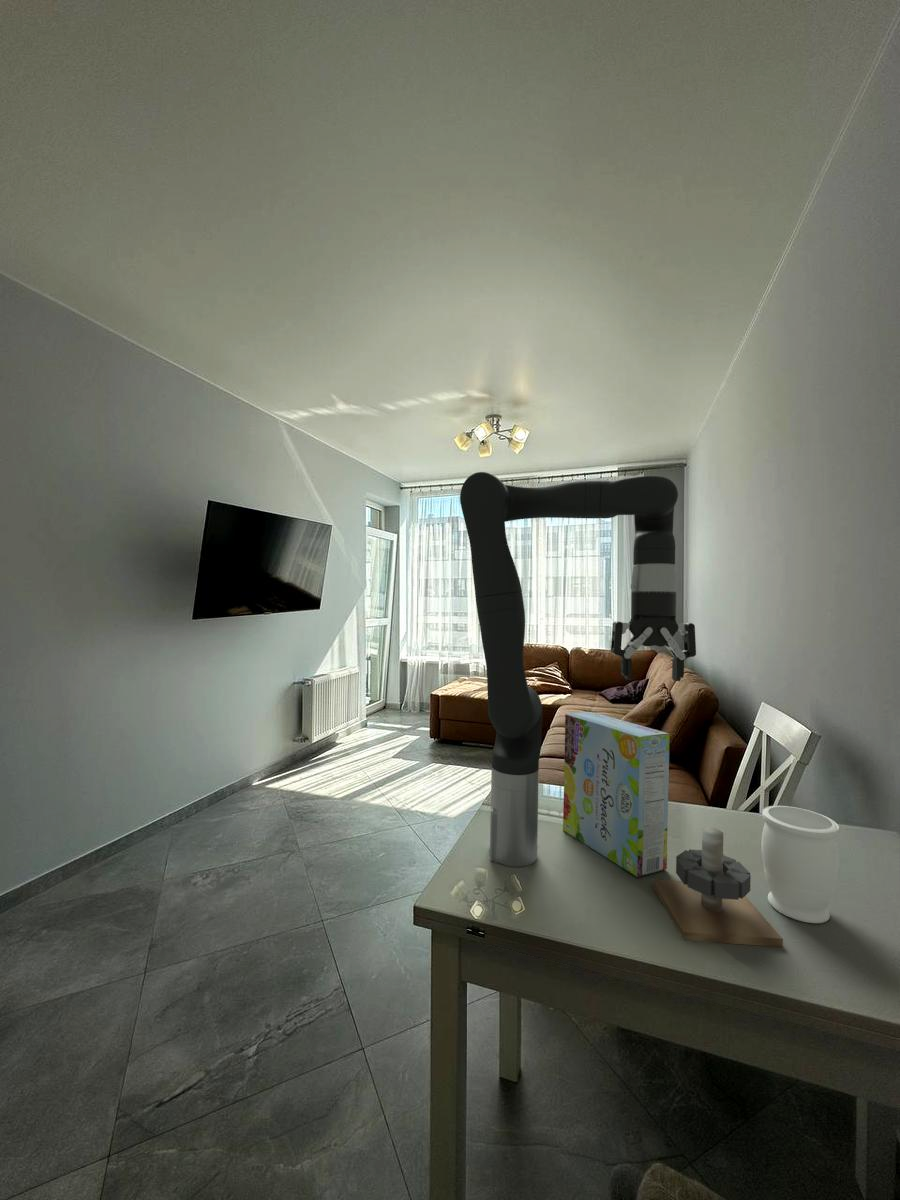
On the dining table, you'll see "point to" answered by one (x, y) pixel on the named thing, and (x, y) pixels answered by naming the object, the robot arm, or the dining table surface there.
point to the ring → (713, 876)
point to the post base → (715, 923)
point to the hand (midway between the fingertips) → (652, 679)
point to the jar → (800, 861)
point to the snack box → (617, 790)
